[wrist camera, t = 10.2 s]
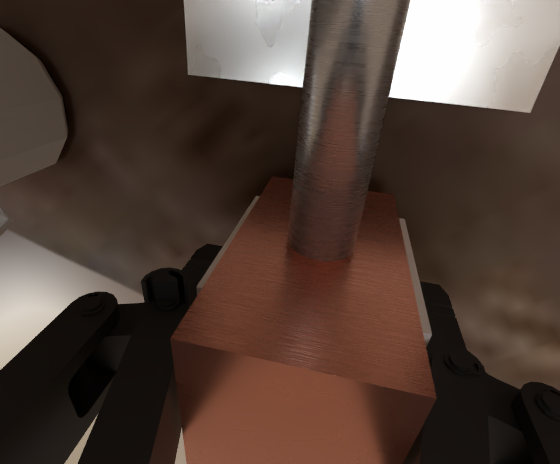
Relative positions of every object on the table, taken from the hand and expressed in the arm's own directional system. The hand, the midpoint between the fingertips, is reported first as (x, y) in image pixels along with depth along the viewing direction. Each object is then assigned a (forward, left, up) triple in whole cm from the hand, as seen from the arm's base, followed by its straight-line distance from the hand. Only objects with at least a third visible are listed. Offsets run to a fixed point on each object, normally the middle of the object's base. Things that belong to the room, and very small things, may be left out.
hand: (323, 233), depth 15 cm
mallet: (-9, 0, 0) cm, 9 cm away
